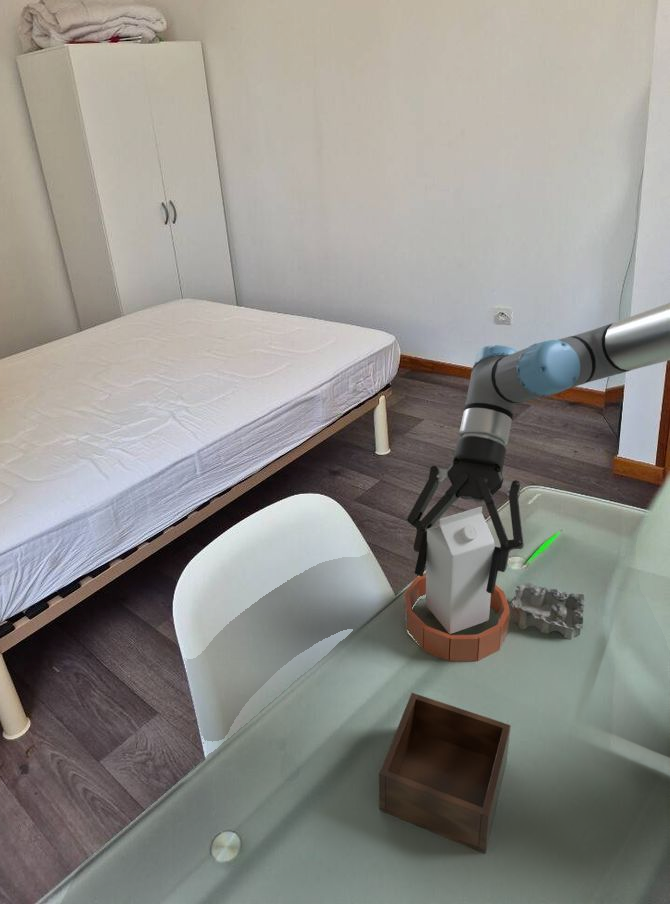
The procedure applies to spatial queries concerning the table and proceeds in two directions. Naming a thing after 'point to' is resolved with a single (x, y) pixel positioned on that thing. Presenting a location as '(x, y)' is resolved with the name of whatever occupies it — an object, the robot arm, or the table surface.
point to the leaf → (543, 546)
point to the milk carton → (459, 570)
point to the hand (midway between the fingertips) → (453, 583)
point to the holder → (445, 771)
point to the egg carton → (548, 609)
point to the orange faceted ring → (456, 644)
